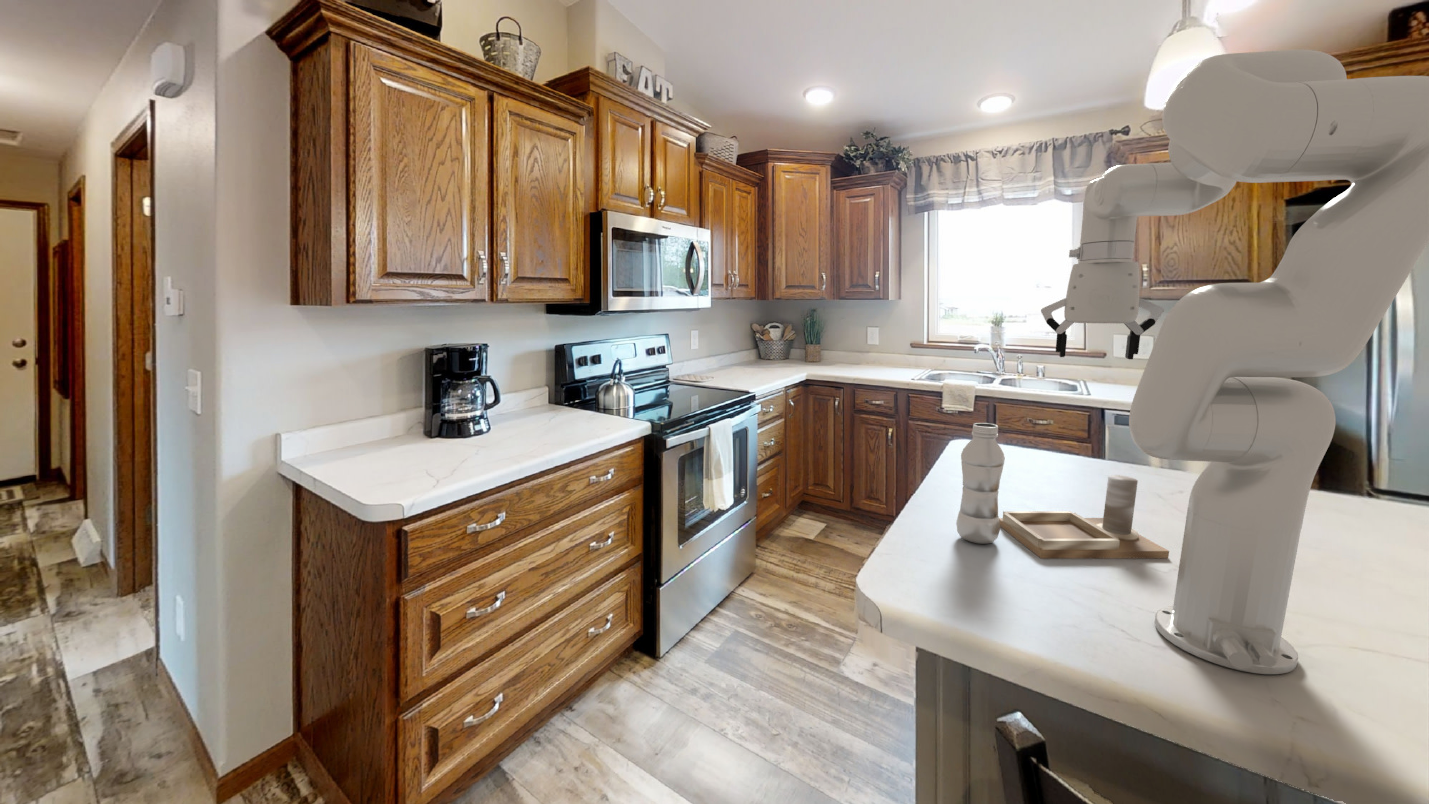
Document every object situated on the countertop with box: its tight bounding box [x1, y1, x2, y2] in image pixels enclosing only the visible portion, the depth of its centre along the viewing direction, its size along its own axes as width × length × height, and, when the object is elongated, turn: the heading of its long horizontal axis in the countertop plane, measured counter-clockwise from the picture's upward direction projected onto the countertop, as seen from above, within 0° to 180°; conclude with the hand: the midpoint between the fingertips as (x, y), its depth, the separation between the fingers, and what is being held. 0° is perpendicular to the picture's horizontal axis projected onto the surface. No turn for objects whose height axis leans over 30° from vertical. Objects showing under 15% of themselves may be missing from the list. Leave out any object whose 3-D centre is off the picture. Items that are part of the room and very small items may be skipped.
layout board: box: [999, 474, 1170, 560], centre depth 95 cm, size 20×14×11 cm
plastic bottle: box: [956, 422, 1005, 544], centre depth 95 cm, size 6×7×20 cm
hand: (1094, 357), depth 97 cm, fingers open, 9 cm apart
